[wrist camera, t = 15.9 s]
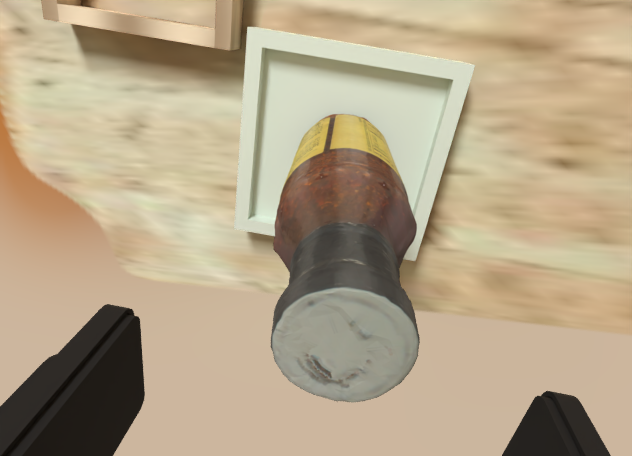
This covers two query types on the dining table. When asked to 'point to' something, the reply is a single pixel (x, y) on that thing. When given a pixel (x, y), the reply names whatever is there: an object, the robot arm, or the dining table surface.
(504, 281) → the dining table surface
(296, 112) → the shallow square tray
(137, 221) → the dining table surface
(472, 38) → the dining table surface
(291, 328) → the sauce bottle
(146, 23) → the tan flat square frame
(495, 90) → the dining table surface
